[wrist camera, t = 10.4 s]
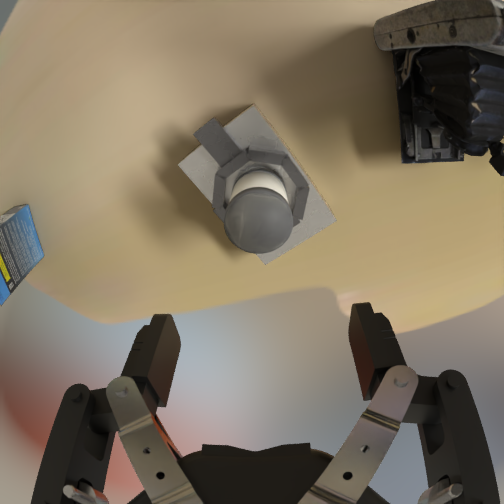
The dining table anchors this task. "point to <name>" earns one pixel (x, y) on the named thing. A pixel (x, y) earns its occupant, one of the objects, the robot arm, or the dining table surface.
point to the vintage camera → (448, 79)
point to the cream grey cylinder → (258, 212)
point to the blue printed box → (17, 248)
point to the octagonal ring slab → (250, 156)
